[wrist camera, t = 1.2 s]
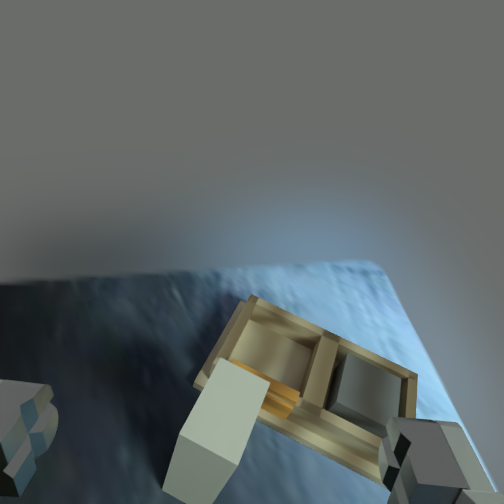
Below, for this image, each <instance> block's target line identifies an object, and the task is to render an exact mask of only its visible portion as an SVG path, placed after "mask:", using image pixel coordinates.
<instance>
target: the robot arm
mask: <svg viewBox="0 0 504 504" xmlns="http://www.w3.org/2000/svg"><path fill="white" fill-rule="evenodd" d="M53 396H54V395H53V392H52V388H51V386H50V385H45V384H37V383H29V382H21V381H12V380H3V379H0V496H9V497H20V496H21V494H22V492H23V490H24V489H25V487H26V485H27V484H28V482H29V480H30V479H31V477H32V475H33V473H34V472H35V470H36V460H35V458H37V457H38V456H39V455H41V454H42V453H44V452H45V451H46V450H47V449H48V448H49V446H50V444H51V442H52V440H53V439H54V436H55V432H56V429H57V426H58V413H57V409H56V408H55V407H54V406H53V405H52V404H51V403H50V400H51V399H52V397H53ZM386 429H387V433H388V436H386V437H385V438H383V439H382V440H381V443H380V447H379V455H378V464H379V471H380V476H381V480H382V483H383V484H384V485H385V486H386V487H387V489H388V490H389V491H390V492H391V494H390V497H389V499H388V502H387V504H504V494H502V493H497V492H495V491H494V489H493V487H492V485H491V483H490V481H489V479H488V477H487V475H486V473H485V472H484V470H483V468H482V466H481V464H480V462H479V460H478V458H477V456H476V454H475V452H474V450H473V448H472V446H471V445H470V443H469V441H468V439H467V437H466V435H465V433H464V431H463V429H462V427H461V426H460V425H459V424H458V423H457V422H446V421H433V420H427V419H415V418H403V417H391V418H390V419H389V420H388V423H387V425H386Z"/></svg>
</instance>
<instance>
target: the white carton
mask: <svg viewBox="0 0 504 504" xmlns="http://www.w3.org/2000/svg"><path fill="white" fill-rule="evenodd" d="M269 385H270V382H268V381H266V380H264V379H262V378H260V377H258V376H256V375H254V374H252V373H250V372H248V371H246V370H245V369H243V368H241V367H239V366H237V365H235V364H233V363H231V362H229V361H227V360H225V359H223V358H221V357H220V359H219V361H218V363H217V365H216V367H215V368H214V370H213V372H212V374H211V376H210V378H209V379H208V381H207V383H206V385H205V387H204V389H203V391H202V392H201V394H200V396H199V398H198V400H197V402H196V404H195V405H194V407H193V409H192V411H191V413H190V415H189V416H188V418H187V420H186V422H185V424H184V426H183V428H182V429H181V431H180V433H179V436H178V439H177V442H176V446H175V449H174V452H173V455H172V459H171V462H170V465H169V468H168V472H167V475H166V478H165V481H164V485H163V488H162V490H163V491H165V492H167V493H168V494H170V495H172V496H174V497H175V498H177V499H179V500H181V501H183V502H184V503H186V504H212V503H213V502H214V500H215V499H216V497H217V496H218V494H219V493H220V491H221V490H222V488H223V487H224V485H225V484H226V482H227V481H228V479H229V478H230V477H231V475H232V474H233V472H234V471H235V469H236V468H237V466H238V464H239V461H240V459H241V456H242V454H243V451H244V449H245V446H246V444H247V441H248V439H249V436H250V433H251V431H252V428H253V426H254V423H255V421H256V418H257V416H258V413H259V410H260V408H261V405H262V403H263V400H264V398H265V395H266V393H267V390H268V388H269Z"/></svg>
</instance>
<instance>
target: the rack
mask: <svg viewBox="0 0 504 504" xmlns="http://www.w3.org/2000/svg"><path fill="white" fill-rule="evenodd" d="M220 357H221V358H223V359H225V360H227V361H229V362H231V363H233V364H235V365H237V366H239V367H241V368H243V369H245V370H246V371H248V372H250V373H252V374H254V375H256V376H258V377H260V378H262V379H264V380H266V381H268V382H270V385H269V388H268V390H267V393H266V395H265V398H264V400H263V403H262V405H261V408H260V410H259V413H258V416H257V418H256V420H257V421H259V422H261V423H263V424H265V425H267V426H268V427H270V428H272V429H274V430H276V431H278V432H280V433H282V434H284V435H286V436H288V437H290V438H291V439H293V440H295V441H297V442H299V443H301V444H303V445H305V446H307V447H309V448H311V449H313V450H314V451H316V452H318V453H320V454H322V455H324V456H326V457H328V458H330V459H332V460H334V461H336V462H337V463H339V464H341V465H343V466H345V467H347V468H349V469H351V470H353V471H355V472H357V473H359V474H360V475H362V476H364V477H366V478H368V479H370V480H372V481H374V482H376V483H378V484H380V485H382V486H384V487H385V488H387V487H386V486H385V485H384V484H383V483H382V480H381V476H380V471H379V464H378V455H379V447H380V443H381V440H382V439H383V438H385V437H386V436H388V433H387V429H386V425H387V423H388V420H389V419H390V418H391V417H403V418H415V419H416V399H417V378H418V374H416V373H414V372H412V371H410V370H408V369H406V368H404V367H402V366H400V365H398V364H396V363H394V362H391V361H389V360H387V359H385V358H383V357H381V356H379V355H377V354H375V353H373V352H371V351H369V350H367V349H364V348H362V347H360V346H358V345H356V344H354V343H352V342H350V341H348V340H346V339H344V338H342V337H340V336H337V335H335V334H333V333H331V332H329V331H327V330H325V329H323V328H321V327H319V326H317V325H315V324H313V323H310V322H308V321H306V320H304V319H302V318H300V317H298V316H296V315H294V314H292V313H290V312H288V311H285V310H283V309H281V308H279V307H277V306H275V305H273V304H271V303H269V302H267V301H265V300H263V299H261V298H258V297H256V296H254V295H252V294H251V295H250V297H249V299H248V300H247V302H246V303H245V302H243V301H240V302H239V304H238V306H237V308H236V309H235V311H234V313H233V315H232V316H231V318H230V320H229V322H228V323H227V325H226V327H225V329H224V330H223V332H222V334H221V336H220V337H219V339H218V341H217V343H216V344H215V346H214V348H213V350H212V351H211V353H210V355H209V357H208V358H207V360H206V362H205V364H204V365H203V367H202V369H201V371H200V372H199V374H198V376H197V378H196V379H195V381H194V384H193V387H194V388H196V389H198V390H199V391H201V392H202V391H203V389H204V387H205V385H206V383H207V381H208V379H209V378H210V376H211V374H212V372H213V370H214V368H215V367H216V365H217V363H218V361H219V359H220Z"/></svg>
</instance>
